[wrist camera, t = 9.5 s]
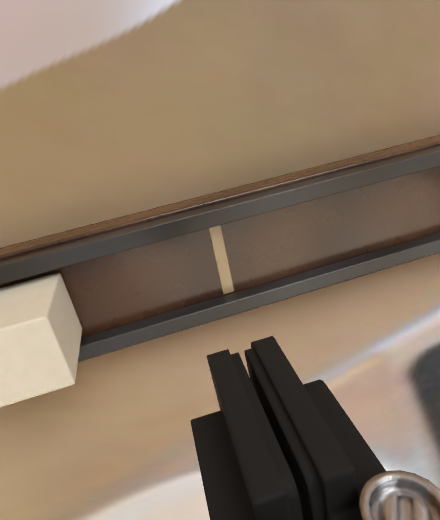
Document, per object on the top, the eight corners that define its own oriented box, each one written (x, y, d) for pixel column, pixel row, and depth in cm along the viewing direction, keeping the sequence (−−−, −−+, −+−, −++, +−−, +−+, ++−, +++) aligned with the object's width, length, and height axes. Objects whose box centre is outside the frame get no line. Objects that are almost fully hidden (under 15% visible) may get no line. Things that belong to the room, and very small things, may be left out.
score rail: (463, 128, 20) (502, 131, 18) (459, 228, 22) (494, 241, 20) (-115, 277, 16) (-147, 302, 14) (-55, 380, 18) (-75, 415, 16)
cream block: (60, 270, 17) (46, 316, 13) (83, 329, 18) (75, 385, 14) (-45, 299, 16) (-88, 354, 13) (-15, 358, 17) (-47, 423, 14)
